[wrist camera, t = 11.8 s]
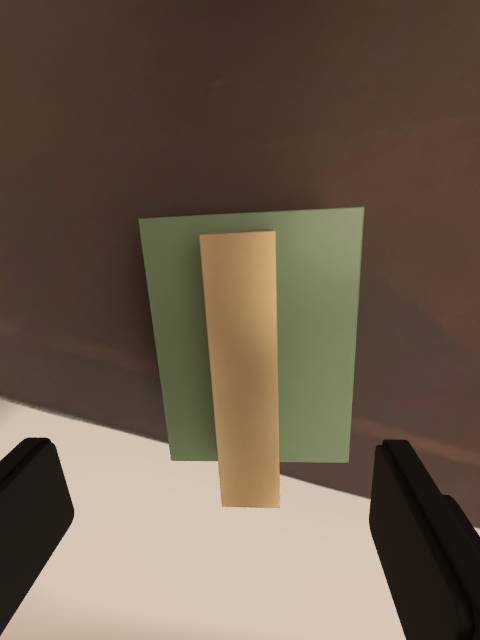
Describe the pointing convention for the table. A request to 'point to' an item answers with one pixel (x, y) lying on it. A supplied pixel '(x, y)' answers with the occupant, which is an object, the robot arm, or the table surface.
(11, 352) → the table surface
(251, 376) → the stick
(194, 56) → the table surface
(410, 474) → the robot arm
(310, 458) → the box lid
